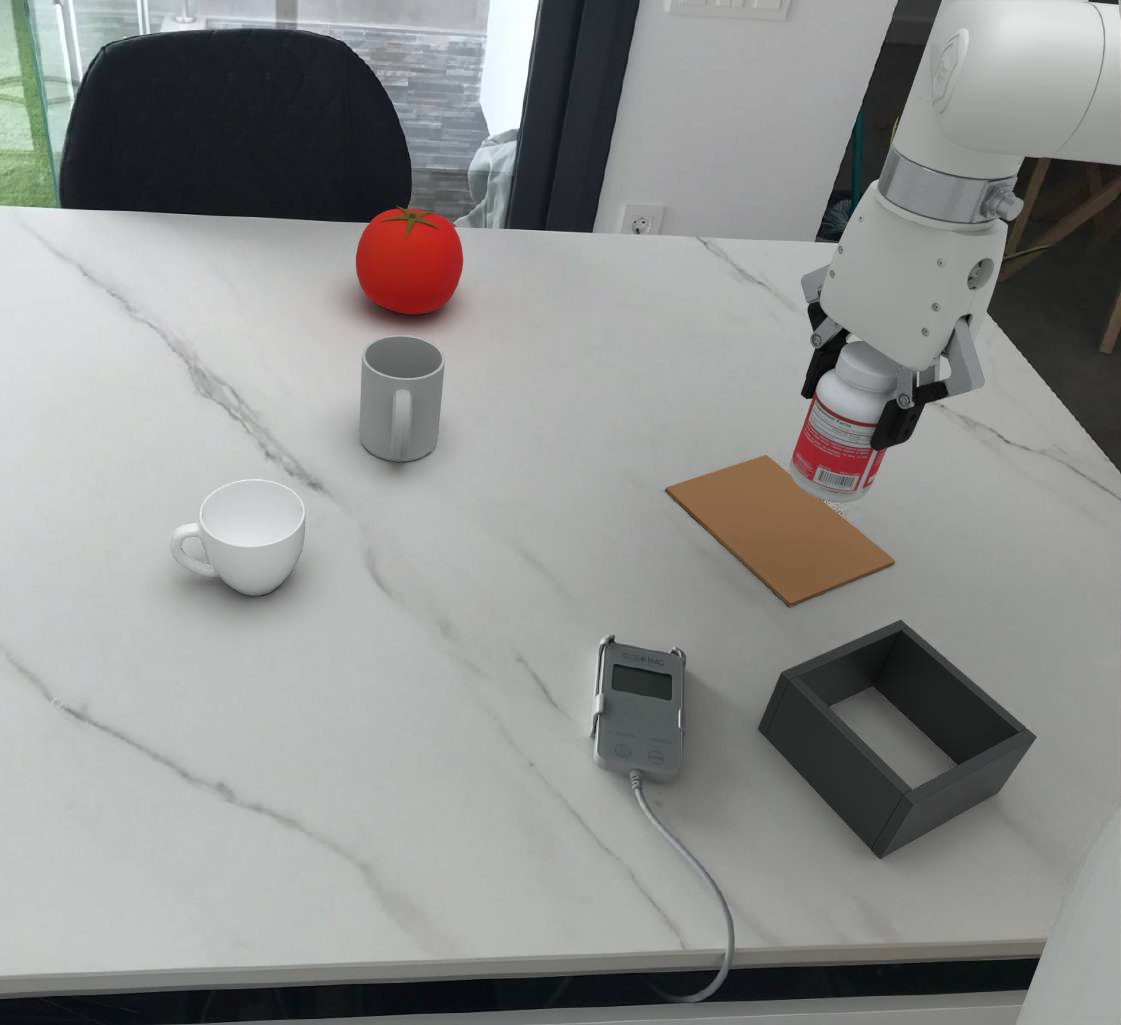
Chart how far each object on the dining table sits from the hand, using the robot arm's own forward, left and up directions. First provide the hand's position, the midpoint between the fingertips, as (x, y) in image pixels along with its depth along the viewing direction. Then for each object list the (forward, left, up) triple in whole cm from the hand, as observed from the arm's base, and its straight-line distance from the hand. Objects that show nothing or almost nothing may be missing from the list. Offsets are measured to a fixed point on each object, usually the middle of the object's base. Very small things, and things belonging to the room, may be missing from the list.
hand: (852, 416), depth 79 cm
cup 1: (+18, +41, -16) cm, 48 cm away
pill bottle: (0, 0, -6) cm, 6 cm away
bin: (-17, +8, -16) cm, 25 cm away
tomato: (+51, +9, -16) cm, 54 cm away
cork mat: (+5, -3, -16) cm, 17 cm away
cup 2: (+28, +22, -16) cm, 39 cm away
